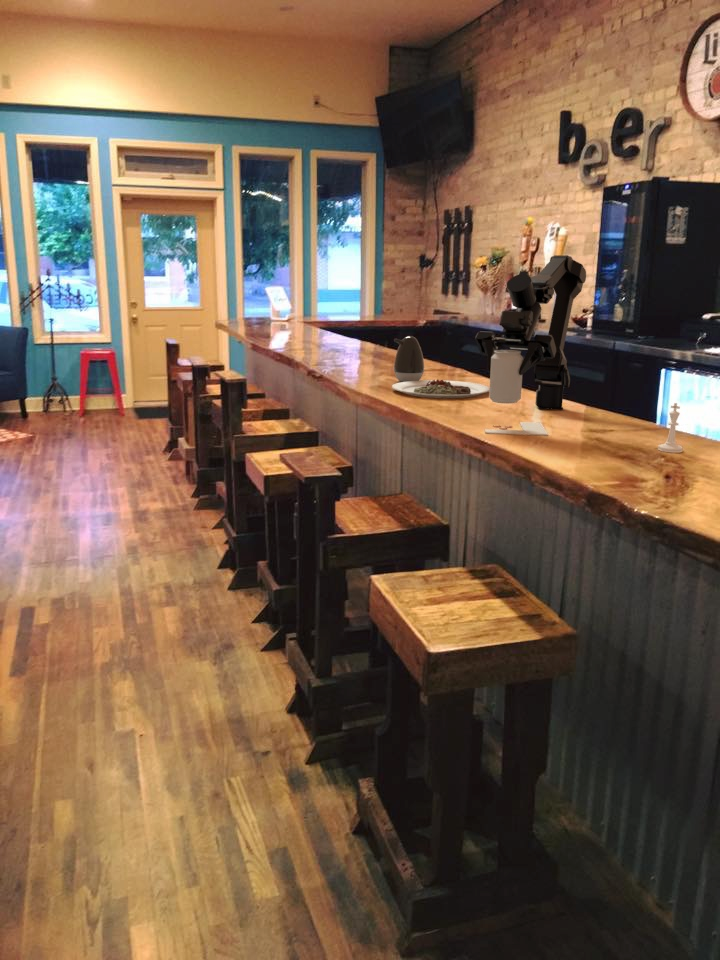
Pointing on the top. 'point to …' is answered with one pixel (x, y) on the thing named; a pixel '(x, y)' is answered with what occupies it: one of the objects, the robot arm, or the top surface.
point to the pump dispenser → (408, 360)
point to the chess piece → (672, 434)
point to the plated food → (440, 388)
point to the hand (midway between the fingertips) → (504, 372)
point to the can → (505, 376)
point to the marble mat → (527, 428)
